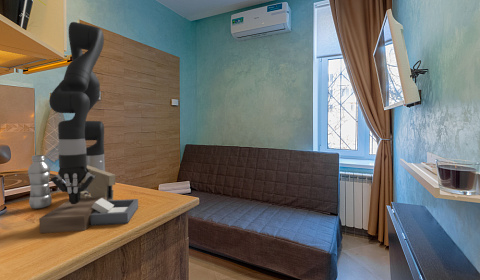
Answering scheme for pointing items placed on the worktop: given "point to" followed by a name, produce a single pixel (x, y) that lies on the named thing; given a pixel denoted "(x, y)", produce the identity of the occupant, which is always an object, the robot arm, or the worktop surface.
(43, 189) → the plastic bottle
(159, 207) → the worktop surface
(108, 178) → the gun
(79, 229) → the brown wooden block
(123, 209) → the tile
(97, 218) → the box
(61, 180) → the robot arm
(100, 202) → the tile
